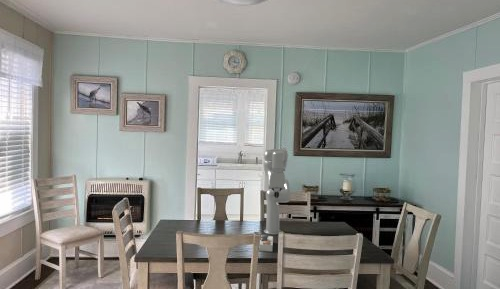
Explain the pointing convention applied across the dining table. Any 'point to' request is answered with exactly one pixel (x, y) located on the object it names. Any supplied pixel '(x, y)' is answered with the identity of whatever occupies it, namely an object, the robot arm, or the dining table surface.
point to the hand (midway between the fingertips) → (276, 197)
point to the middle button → (264, 237)
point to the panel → (266, 247)
